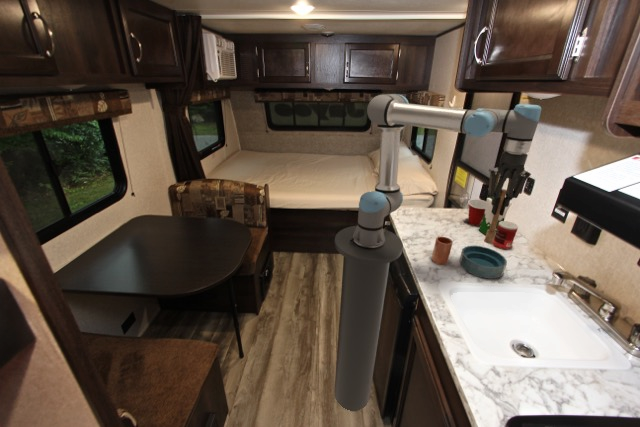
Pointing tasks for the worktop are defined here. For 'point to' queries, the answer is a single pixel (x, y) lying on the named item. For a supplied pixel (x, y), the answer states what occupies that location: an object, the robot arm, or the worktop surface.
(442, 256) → the crock
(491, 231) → the stick
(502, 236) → the canned food
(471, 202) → the plastic cup
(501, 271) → the bowl
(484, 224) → the milk carton
